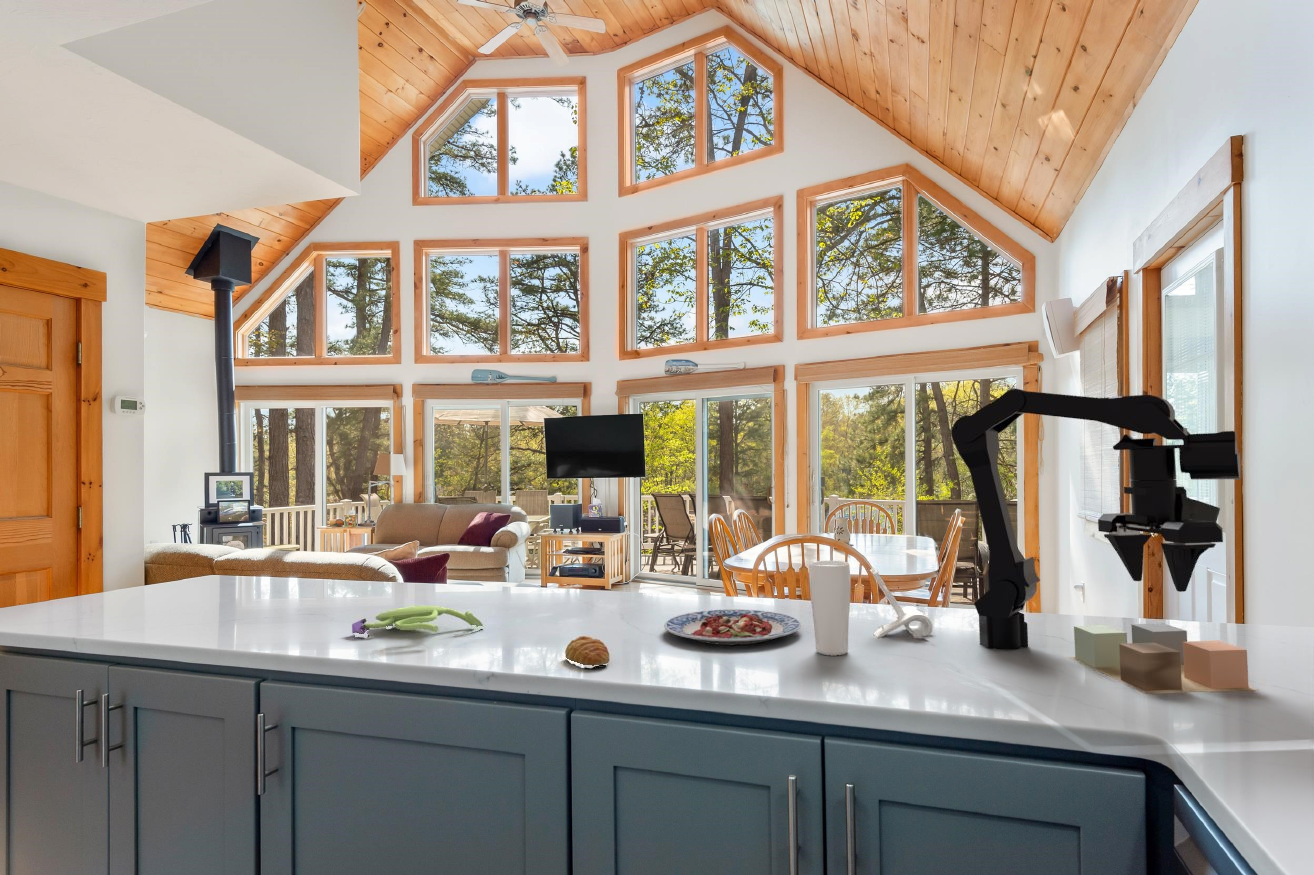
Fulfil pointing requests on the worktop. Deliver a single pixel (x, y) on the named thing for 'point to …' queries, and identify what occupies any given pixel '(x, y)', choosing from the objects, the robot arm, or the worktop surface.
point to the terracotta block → (1215, 664)
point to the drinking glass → (830, 605)
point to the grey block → (1160, 636)
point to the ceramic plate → (732, 626)
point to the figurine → (413, 618)
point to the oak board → (1186, 687)
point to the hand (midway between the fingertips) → (1158, 586)
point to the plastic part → (903, 615)
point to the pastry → (587, 651)
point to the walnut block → (1150, 666)
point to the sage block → (1098, 645)
